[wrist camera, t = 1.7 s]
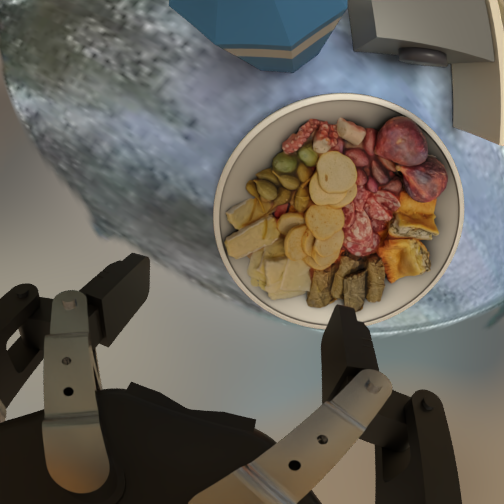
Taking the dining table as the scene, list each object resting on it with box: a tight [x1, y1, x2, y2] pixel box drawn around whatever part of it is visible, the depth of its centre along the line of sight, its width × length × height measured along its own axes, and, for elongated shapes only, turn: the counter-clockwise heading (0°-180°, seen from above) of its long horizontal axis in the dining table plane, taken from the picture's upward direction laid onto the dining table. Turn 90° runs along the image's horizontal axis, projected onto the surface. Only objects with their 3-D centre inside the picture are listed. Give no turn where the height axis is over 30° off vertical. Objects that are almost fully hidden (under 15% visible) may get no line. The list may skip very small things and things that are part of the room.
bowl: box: [213, 93, 464, 329], centre depth 32 cm, size 30×30×8 cm
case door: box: [452, 0, 504, 146], centre depth 16 cm, size 27×2×10 cm, turn 6°
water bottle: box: [169, 0, 348, 73], centre depth 15 cm, size 9×9×25 cm
